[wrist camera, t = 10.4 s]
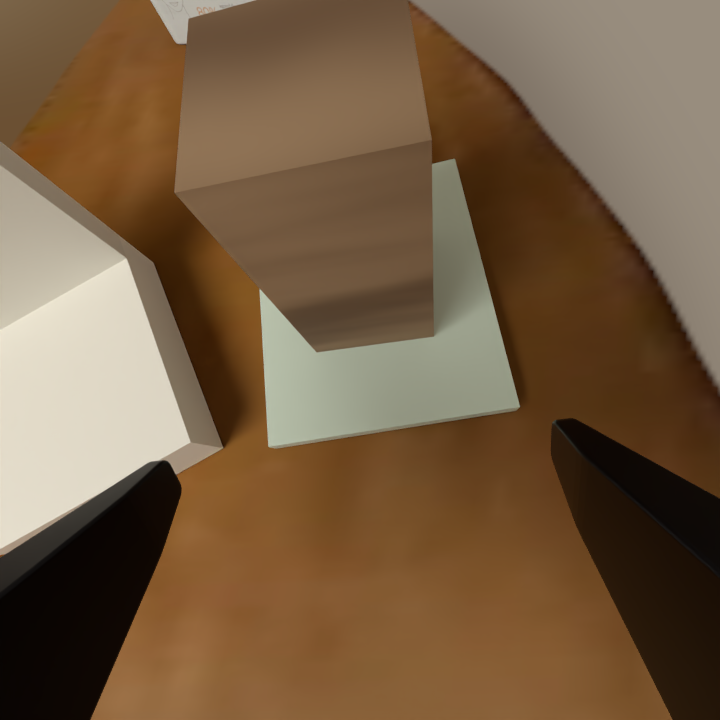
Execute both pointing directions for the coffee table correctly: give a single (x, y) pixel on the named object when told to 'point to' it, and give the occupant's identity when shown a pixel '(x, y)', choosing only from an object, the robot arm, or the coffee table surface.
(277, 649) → the coffee table surface
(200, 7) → the small box
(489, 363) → the pad
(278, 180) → the walnut block
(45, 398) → the ledge
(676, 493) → the robot arm
